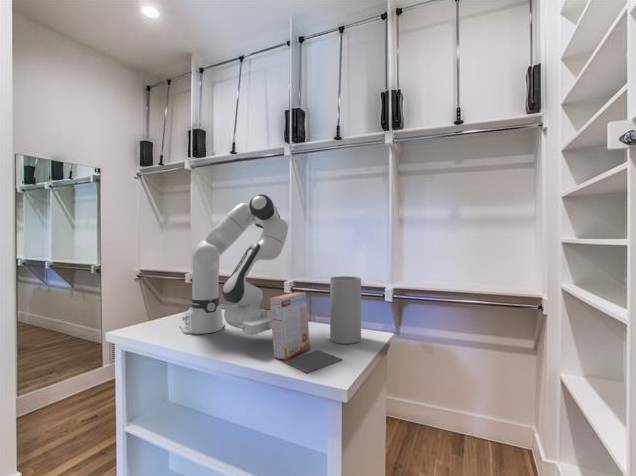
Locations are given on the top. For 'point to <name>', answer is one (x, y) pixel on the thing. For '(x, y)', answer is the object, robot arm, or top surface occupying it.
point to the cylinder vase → (345, 309)
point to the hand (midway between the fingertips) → (282, 326)
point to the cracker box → (289, 324)
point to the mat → (312, 361)
